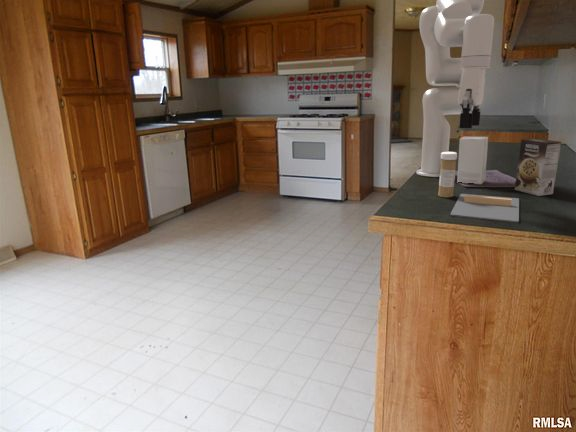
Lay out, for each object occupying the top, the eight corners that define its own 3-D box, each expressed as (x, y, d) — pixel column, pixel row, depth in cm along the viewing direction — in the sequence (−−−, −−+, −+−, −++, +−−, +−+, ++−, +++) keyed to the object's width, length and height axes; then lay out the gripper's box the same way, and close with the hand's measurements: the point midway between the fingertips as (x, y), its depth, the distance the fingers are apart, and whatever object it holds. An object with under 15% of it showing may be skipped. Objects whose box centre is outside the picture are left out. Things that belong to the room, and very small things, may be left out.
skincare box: (485, 181, 151) (490, 136, 147) (481, 185, 146) (486, 138, 141) (460, 179, 156) (464, 135, 151) (455, 182, 150) (459, 137, 146)
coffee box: (513, 190, 139) (520, 139, 134) (528, 187, 141) (535, 137, 136) (538, 196, 130) (546, 142, 126) (554, 194, 132) (562, 140, 128)
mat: (460, 194, 134) (461, 188, 134) (518, 199, 127) (519, 192, 126) (450, 215, 114) (450, 207, 113) (518, 222, 107) (519, 214, 106)
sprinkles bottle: (441, 193, 136) (445, 150, 133) (456, 195, 133) (459, 152, 130) (435, 196, 133) (438, 152, 129) (449, 198, 130) (453, 154, 126)
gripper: (468, 65, 129) (462, 124, 133) (453, 63, 115) (448, 129, 120) (495, 63, 125) (489, 124, 129) (483, 61, 111) (477, 129, 116)
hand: (469, 126), depth 125 cm, fingers open, 9 cm apart
